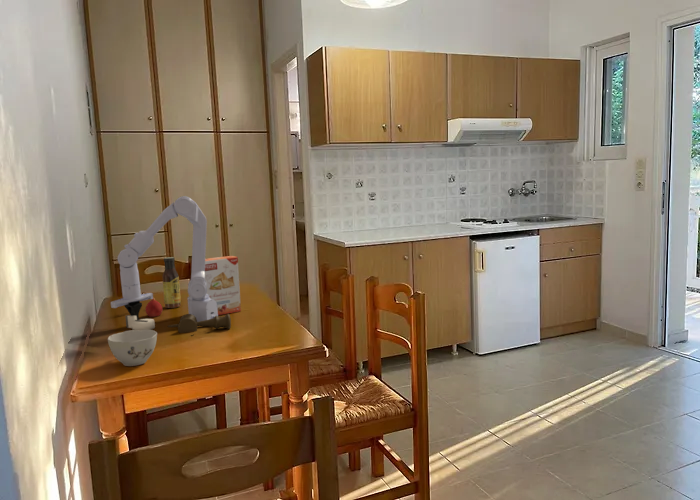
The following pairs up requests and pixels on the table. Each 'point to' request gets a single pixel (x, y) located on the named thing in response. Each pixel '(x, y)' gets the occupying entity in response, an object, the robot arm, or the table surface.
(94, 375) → the table surface
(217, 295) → the cracker box
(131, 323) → the miniature toilet
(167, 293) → the sauce bottle
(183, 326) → the kendama
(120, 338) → the white floral bowl
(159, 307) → the onion
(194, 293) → the robot arm
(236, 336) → the table surface
